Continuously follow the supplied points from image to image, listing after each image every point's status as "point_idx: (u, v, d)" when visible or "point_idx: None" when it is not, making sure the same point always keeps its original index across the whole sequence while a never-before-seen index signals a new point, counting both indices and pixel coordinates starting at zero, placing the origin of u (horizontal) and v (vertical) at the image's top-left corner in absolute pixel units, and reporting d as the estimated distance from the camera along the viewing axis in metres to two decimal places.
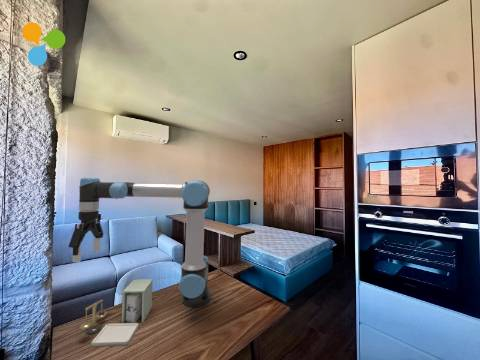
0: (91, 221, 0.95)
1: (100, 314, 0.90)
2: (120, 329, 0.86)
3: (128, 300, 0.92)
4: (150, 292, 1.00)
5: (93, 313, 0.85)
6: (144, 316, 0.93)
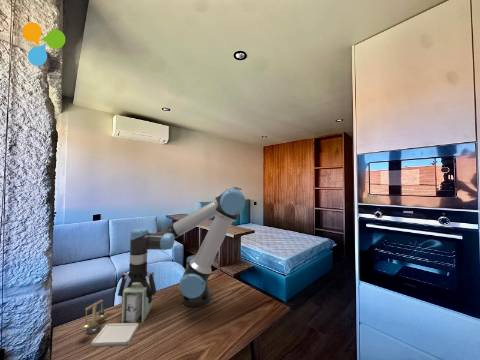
0: (137, 273, 0.95)
1: (100, 314, 0.90)
2: (120, 329, 0.86)
3: (128, 300, 0.92)
4: None
5: (93, 313, 0.85)
6: (144, 316, 0.93)
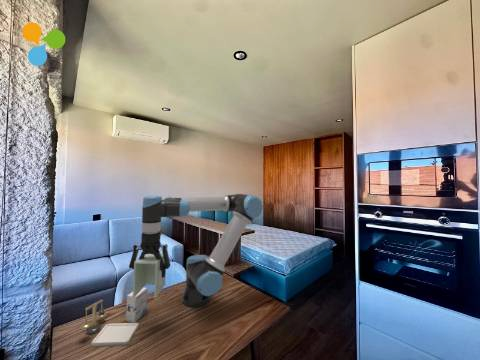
0: (150, 244, 0.86)
1: (100, 314, 0.90)
2: (120, 329, 0.86)
3: (128, 300, 0.92)
4: None
5: (93, 313, 0.85)
6: (157, 291, 0.84)
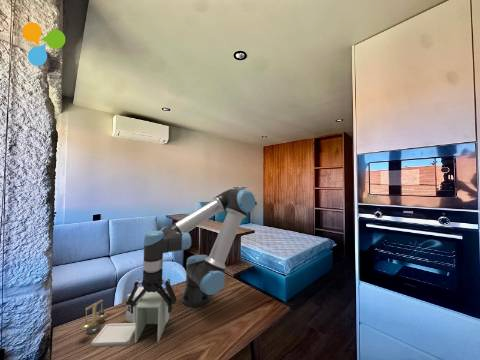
0: (152, 282, 0.84)
1: (100, 314, 0.90)
2: (120, 329, 0.86)
3: None
4: (165, 306, 0.89)
5: (93, 313, 0.85)
6: (160, 334, 0.82)
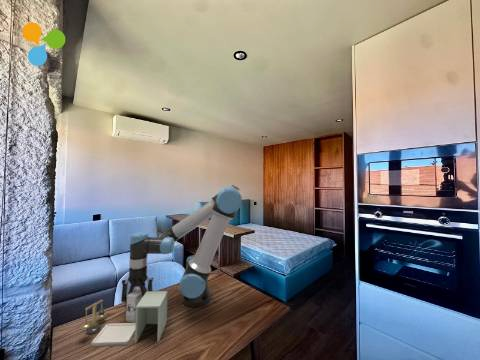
0: (137, 277, 0.95)
1: (100, 314, 0.90)
2: (120, 329, 0.86)
3: (128, 300, 0.92)
4: (165, 306, 0.89)
5: (93, 313, 0.85)
6: (160, 334, 0.82)
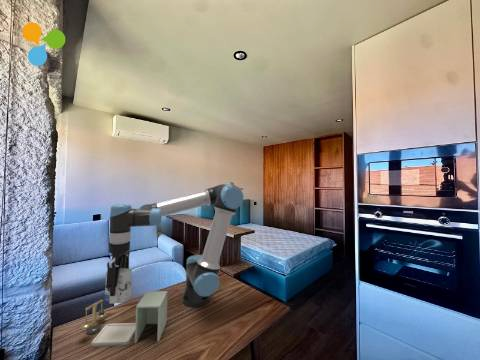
0: (122, 253, 0.84)
1: (100, 314, 0.90)
2: (120, 329, 0.86)
3: (125, 277, 0.82)
4: (165, 306, 0.89)
5: (93, 313, 0.85)
6: (160, 334, 0.82)
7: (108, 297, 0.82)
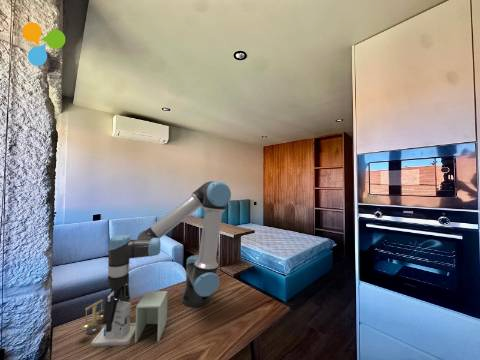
0: (121, 285, 0.84)
1: (100, 314, 0.90)
2: None
3: (125, 312, 0.82)
4: (165, 306, 0.89)
5: (93, 313, 0.85)
6: (160, 334, 0.82)
7: None
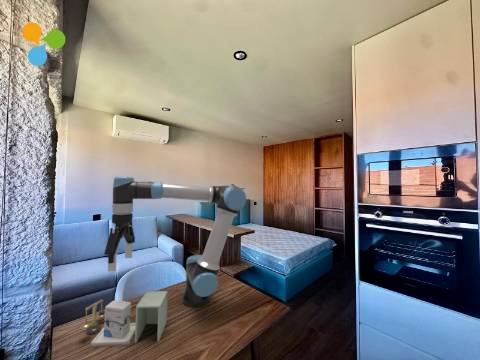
0: (125, 225, 0.86)
1: (100, 314, 0.90)
2: None
3: (125, 312, 0.82)
4: (165, 306, 0.89)
5: (93, 313, 0.85)
6: (160, 334, 0.82)
7: (107, 332, 0.81)
